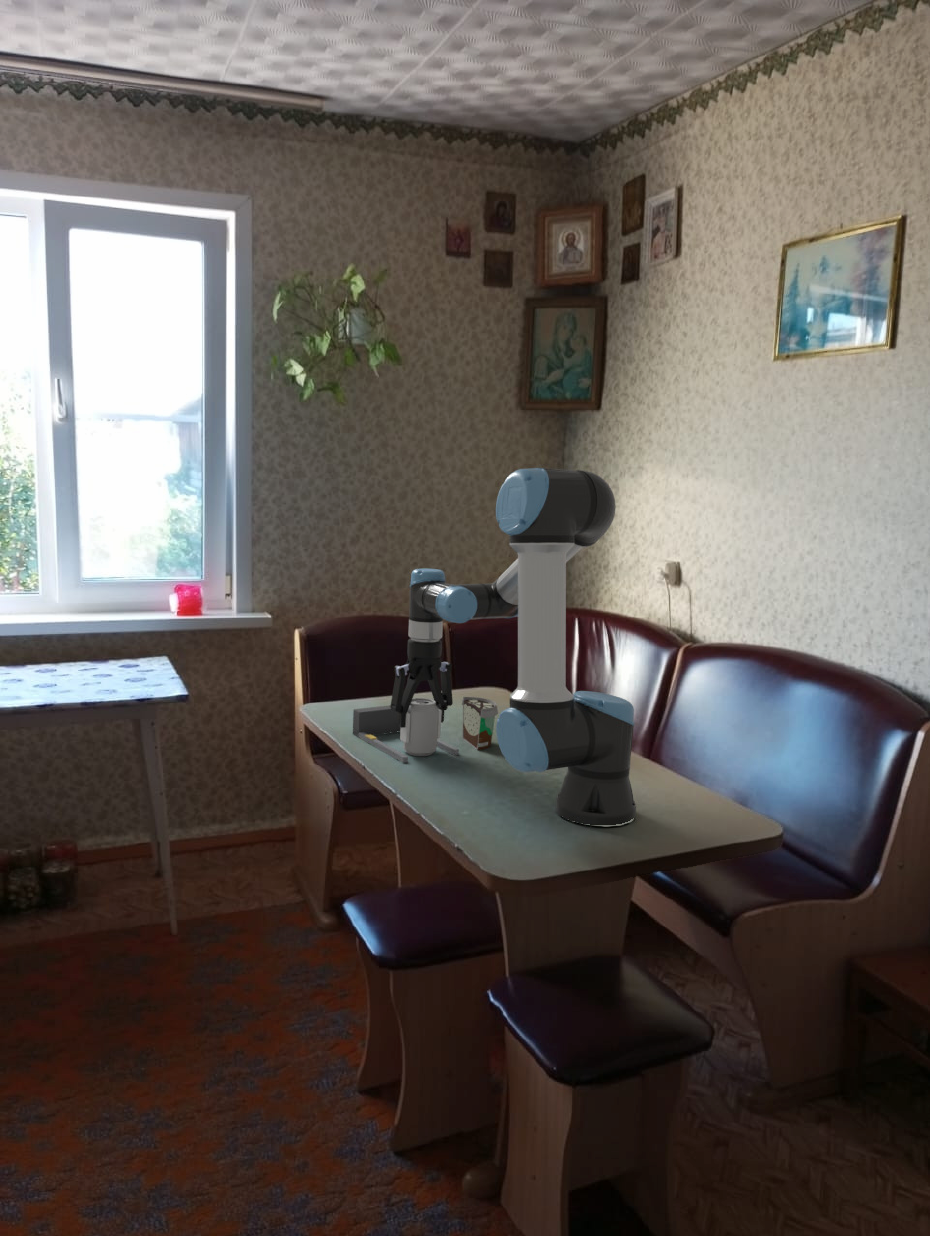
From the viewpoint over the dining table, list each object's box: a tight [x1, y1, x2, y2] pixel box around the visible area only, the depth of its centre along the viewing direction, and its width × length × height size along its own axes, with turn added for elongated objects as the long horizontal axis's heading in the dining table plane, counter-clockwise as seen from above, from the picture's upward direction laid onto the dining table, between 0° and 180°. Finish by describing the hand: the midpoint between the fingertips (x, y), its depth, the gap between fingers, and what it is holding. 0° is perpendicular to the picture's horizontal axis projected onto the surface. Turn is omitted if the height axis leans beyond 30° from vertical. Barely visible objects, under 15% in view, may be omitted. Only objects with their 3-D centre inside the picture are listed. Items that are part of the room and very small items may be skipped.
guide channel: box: [352, 704, 460, 764], centre depth 221 cm, size 24×15×6 cm, turn 33°
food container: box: [461, 696, 499, 751], centre depth 224 cm, size 12×6×10 cm, turn 22°
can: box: [402, 697, 438, 757], centre depth 215 cm, size 8×8×12 cm
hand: (420, 738), depth 215 cm, fingers closed on can, 7 cm apart
